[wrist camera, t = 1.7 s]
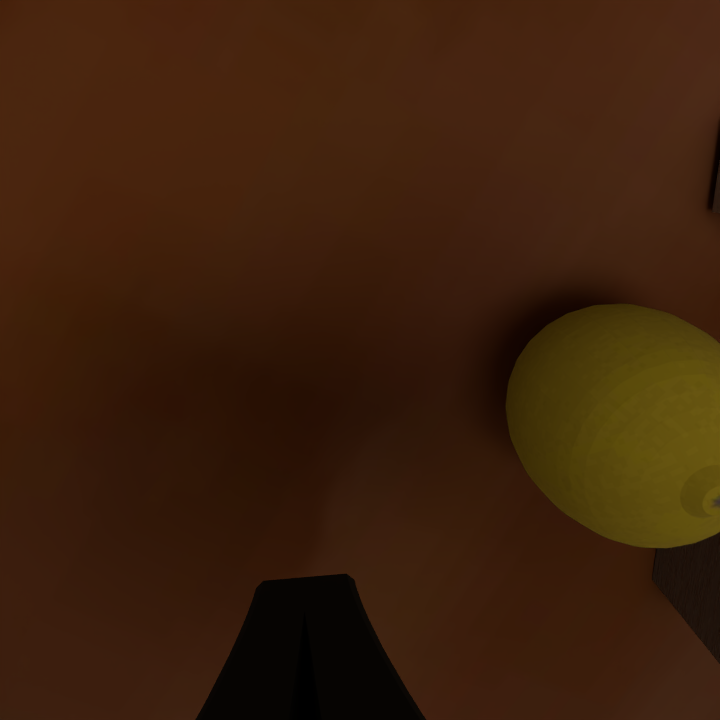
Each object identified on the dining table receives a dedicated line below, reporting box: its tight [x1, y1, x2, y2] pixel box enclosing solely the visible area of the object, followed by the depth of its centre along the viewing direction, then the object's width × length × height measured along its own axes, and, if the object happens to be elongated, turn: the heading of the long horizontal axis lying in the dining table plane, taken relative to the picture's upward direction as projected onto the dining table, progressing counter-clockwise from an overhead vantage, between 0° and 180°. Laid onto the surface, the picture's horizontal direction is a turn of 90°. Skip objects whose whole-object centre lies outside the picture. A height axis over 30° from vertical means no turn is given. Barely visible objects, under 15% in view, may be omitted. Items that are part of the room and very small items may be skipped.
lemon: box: [506, 304, 720, 548], centre depth 16 cm, size 6×6×8 cm
